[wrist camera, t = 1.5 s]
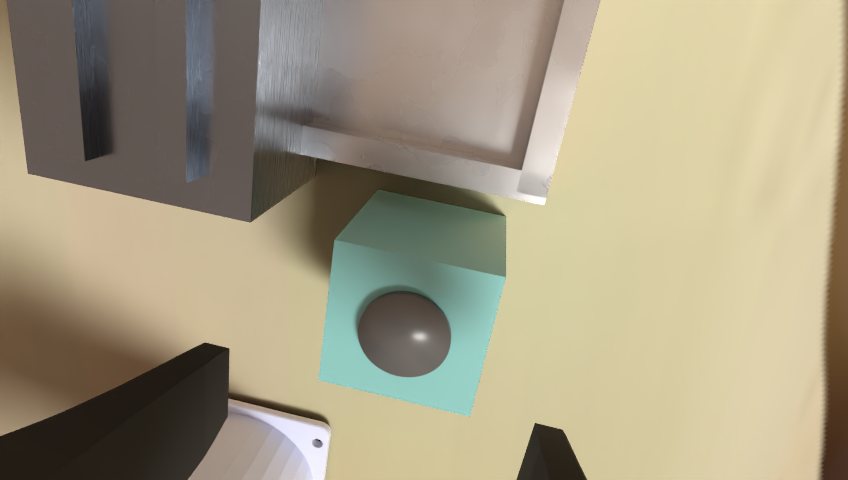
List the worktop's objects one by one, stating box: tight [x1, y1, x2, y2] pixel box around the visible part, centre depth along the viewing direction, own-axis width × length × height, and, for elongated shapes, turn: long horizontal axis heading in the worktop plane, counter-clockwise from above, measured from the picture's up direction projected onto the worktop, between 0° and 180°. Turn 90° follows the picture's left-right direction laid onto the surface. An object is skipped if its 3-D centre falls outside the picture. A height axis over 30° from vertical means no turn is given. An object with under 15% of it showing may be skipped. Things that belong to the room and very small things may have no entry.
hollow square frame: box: [7, 0, 600, 222], centre depth 15 cm, size 12×16×6 cm
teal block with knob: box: [319, 189, 506, 417], centre depth 18 cm, size 5×5×6 cm
